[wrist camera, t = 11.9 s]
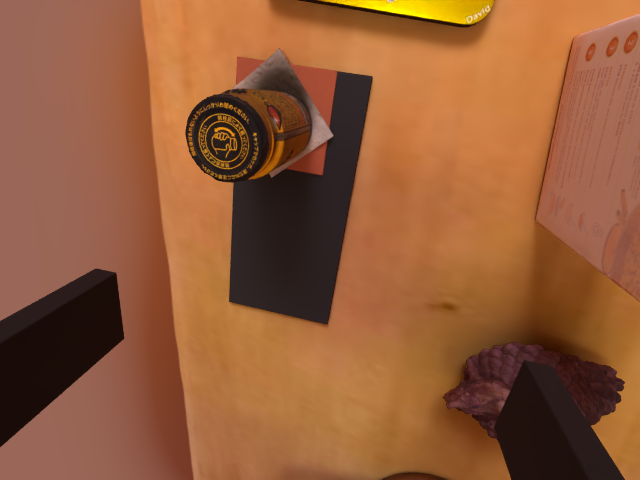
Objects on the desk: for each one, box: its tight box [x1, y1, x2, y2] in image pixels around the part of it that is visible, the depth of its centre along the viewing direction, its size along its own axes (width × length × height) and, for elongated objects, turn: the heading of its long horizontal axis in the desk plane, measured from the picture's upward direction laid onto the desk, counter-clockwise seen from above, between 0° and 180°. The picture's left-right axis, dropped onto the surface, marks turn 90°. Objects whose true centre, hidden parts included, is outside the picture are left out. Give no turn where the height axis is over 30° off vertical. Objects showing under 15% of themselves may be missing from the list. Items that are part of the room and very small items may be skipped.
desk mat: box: [229, 57, 372, 324], centre depth 35 cm, size 26×12×1 cm, turn 172°
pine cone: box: [443, 342, 625, 442], centre depth 33 cm, size 18×10×10 cm
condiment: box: [186, 48, 333, 182], centre depth 26 cm, size 7×8×12 cm
